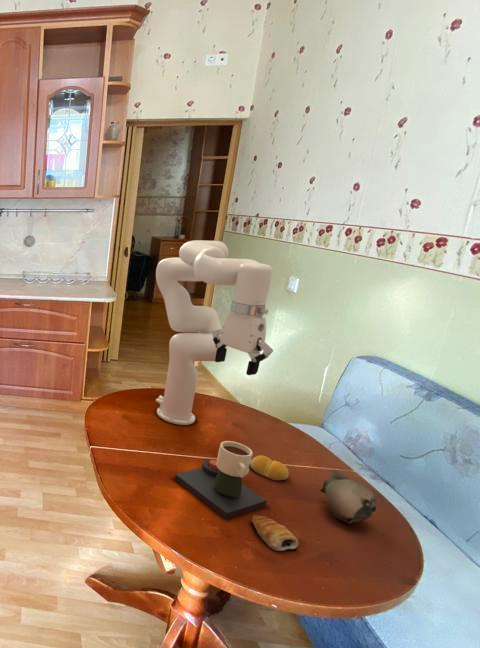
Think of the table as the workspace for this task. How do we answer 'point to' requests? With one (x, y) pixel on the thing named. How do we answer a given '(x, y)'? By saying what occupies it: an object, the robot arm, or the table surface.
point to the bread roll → (269, 468)
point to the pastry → (274, 533)
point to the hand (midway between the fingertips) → (234, 367)
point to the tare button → (213, 464)
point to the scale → (224, 505)
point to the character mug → (232, 467)
